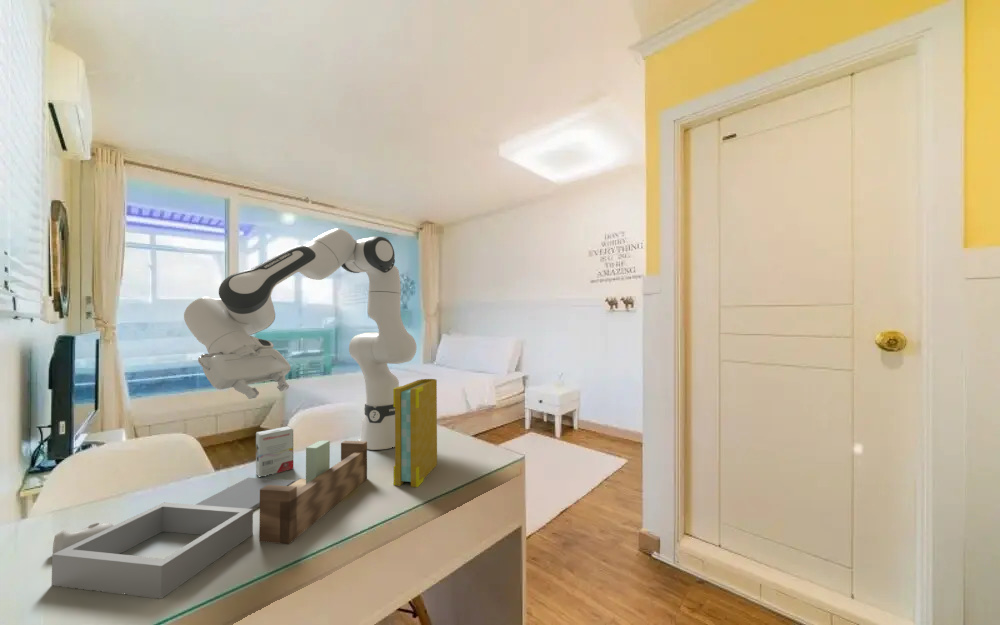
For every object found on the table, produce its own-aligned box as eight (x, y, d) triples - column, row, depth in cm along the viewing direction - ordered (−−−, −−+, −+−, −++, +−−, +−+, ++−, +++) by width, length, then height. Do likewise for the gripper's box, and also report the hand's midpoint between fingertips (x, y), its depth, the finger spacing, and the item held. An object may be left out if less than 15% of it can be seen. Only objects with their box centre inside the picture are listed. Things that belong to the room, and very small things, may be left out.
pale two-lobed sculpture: (116, 540, 73) (111, 543, 69) (54, 556, 68) (46, 560, 64) (118, 516, 74) (114, 518, 70) (58, 530, 69) (50, 533, 65)
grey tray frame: (163, 526, 75) (164, 502, 75) (252, 534, 72) (252, 509, 72) (51, 585, 58) (52, 554, 58) (160, 598, 55) (161, 565, 55)
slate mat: (248, 481, 96) (248, 477, 96) (295, 484, 94) (295, 480, 94) (179, 517, 79) (179, 512, 79) (235, 521, 77) (235, 517, 77)
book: (417, 487, 92) (417, 389, 93) (393, 485, 93) (393, 388, 94) (441, 461, 108) (440, 379, 109) (420, 460, 110) (420, 378, 110)
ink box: (289, 464, 108) (289, 425, 108) (293, 469, 104) (294, 428, 105) (255, 473, 102) (255, 431, 102) (259, 478, 98) (259, 435, 99)
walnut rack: (345, 477, 98) (345, 440, 98) (367, 478, 97) (367, 441, 98) (259, 541, 69) (259, 489, 70) (289, 544, 69) (289, 491, 69)
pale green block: (320, 499, 86) (320, 440, 87) (329, 499, 86) (329, 440, 86) (305, 509, 81) (306, 447, 82) (315, 510, 81) (316, 448, 81)
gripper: (203, 344, 77) (242, 391, 75) (275, 341, 98) (307, 377, 96) (184, 365, 78) (223, 412, 76) (260, 357, 98) (292, 394, 96)
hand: (270, 392), depth 86 cm, fingers open, 8 cm apart
